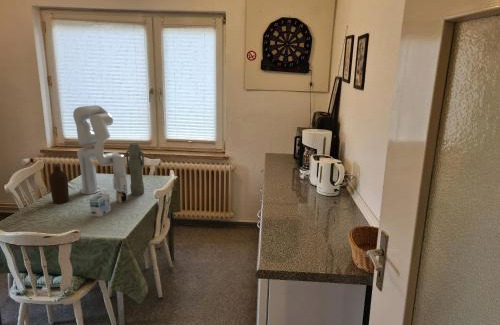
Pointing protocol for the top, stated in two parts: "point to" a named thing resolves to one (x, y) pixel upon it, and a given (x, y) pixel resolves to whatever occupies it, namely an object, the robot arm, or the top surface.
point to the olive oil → (59, 186)
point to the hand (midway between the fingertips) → (121, 199)
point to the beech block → (119, 197)
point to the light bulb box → (100, 205)
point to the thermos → (135, 169)
